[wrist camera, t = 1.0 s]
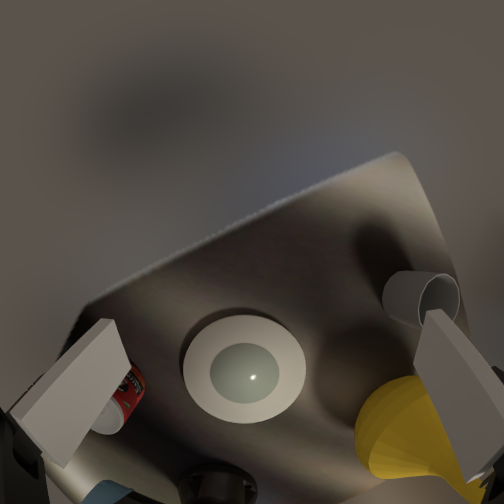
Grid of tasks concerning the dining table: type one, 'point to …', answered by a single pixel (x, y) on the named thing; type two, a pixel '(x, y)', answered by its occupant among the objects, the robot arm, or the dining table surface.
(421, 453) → the vase
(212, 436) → the dining table surface
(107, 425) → the canned food
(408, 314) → the cup
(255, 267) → the dining table surface
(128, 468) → the dining table surface
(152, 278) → the dining table surface
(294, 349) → the plate
